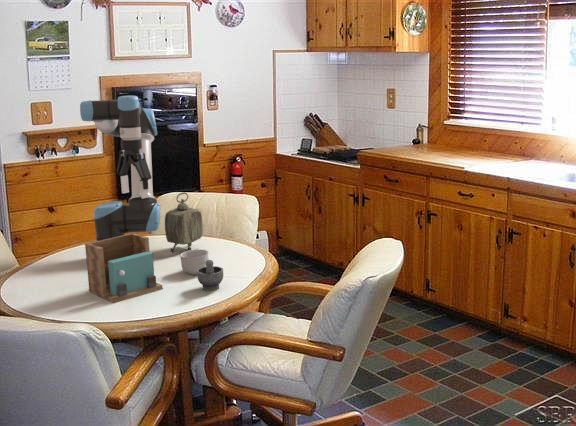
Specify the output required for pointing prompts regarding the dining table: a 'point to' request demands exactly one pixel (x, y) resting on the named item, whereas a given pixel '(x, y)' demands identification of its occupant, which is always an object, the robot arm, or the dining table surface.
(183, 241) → the tabletop clock
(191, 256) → the teacup
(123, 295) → the cabinet
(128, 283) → the door
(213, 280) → the mortar and pestle
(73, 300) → the dining table surface
